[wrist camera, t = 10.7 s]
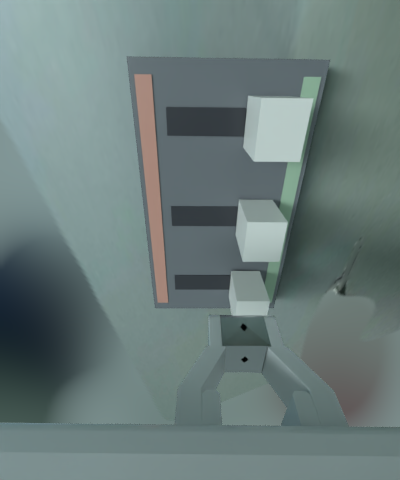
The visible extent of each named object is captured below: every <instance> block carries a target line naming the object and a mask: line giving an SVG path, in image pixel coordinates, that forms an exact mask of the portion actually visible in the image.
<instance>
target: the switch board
mask: <svg viewBox="0 0 400 480" xmlns="http://www.w3.org/2000/svg"><path fill="white" fill-rule="evenodd" d="M127 63H128V72H129V81H130V90H131V99H132V108H133V117H134V126H135V135H136V143H137V152H138V161H139V170H140V179H141V188H142V197H143V206H144V215H145V224H146V232H147V241H148V250H149V259H150V268H151V277H152V286H153V295H154V304H155V308H231V307H230V301H229V289H230V279H231V271H260V273H261V276H262V279H263V282H264V285H265V288H266V291H267V294H268V297H269V300H270V304H269V308H274V304H275V300H276V295H277V291H278V287H279V282H280V278H281V273H282V269H283V265H284V260H285V256H286V251H287V247H288V243H289V238H290V234H291V230H292V225H293V221H294V216H295V212H296V208H297V203H298V199H299V195H300V190H301V186H302V181H303V177H304V173H305V168H306V164H307V160H308V155H309V151H310V146H311V142H312V138H313V133H314V129H315V124H316V120H317V116H318V111H319V107H320V103H321V98H322V94H323V89H324V85H325V81H326V76H327V72H328V68H329V63H330V60H307V59H245V58H182V57H127ZM248 96H293V97H303V98H314V99H313V103H312V108H311V113H310V117H309V122H308V127H307V131H306V136H305V141H304V145H303V150H302V155H301V159H300V162H254V161H253V160H252V159H251V157H250V156H249V155H248V153H247V152H246V151H245V149H244V148H243V144H244V133H245V123H246V113H247V102H248ZM239 199H240V200H273V201H274V203H275V204H276V206H277V207H278V208H279V210H280V211H281V213H282V214H283V216H284V217H285V219H286V220H287V222H288V224H287V229H286V234H285V238H284V243H283V248H282V252H281V257H280V261H279V262H243V261H242V257H241V254H240V250H239V246H238V242H237V239H236V235H235V234H236V224H237V214H238V204H239Z"/></svg>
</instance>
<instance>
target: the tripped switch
mask: <svg viewBox="0 0 400 480" xmlns="http://www.w3.org/2000/svg"><path fill="white" fill-rule="evenodd" d="M287 224H288V222H287V220H286V219H285V217H284V216H283V214H282V213H281V211H280V210H279V208H278V207H277V206H276V204H275V203H274V201H273V200H240V199H239V204H238V214H237V224H236V234H235V235H236V239H237V242H238V246H239V250H240V254H241V257H242V261H243V262H279V261H280V257H281V252H282V248H283V243H284V238H285V234H286V229H287Z"/></svg>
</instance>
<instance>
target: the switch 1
mask: <svg viewBox="0 0 400 480" xmlns="http://www.w3.org/2000/svg"><path fill="white" fill-rule="evenodd" d="M229 301H230V307H231V314H232V315H233V316H241V315H262V316H267V313H268V309H269V304H270V300H269V297H268V294H267V291H266V288H265V285H264V282H263V279H262V276H261V273H260V271H231V279H230V289H229Z"/></svg>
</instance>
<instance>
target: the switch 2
mask: <svg viewBox="0 0 400 480" xmlns="http://www.w3.org/2000/svg"><path fill="white" fill-rule="evenodd" d="M313 99H314V98H303V97H293V96H248V102H247V113H246V123H245V133H244V144H243V148H244V149H245V151H246V152H247V153H248V155H249V156H250V157H251V159H252V160H253V161H254V162H300V159H301V155H302V150H303V145H304V141H305V136H306V131H307V127H308V122H309V117H310V113H311V108H312V103H313Z"/></svg>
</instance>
